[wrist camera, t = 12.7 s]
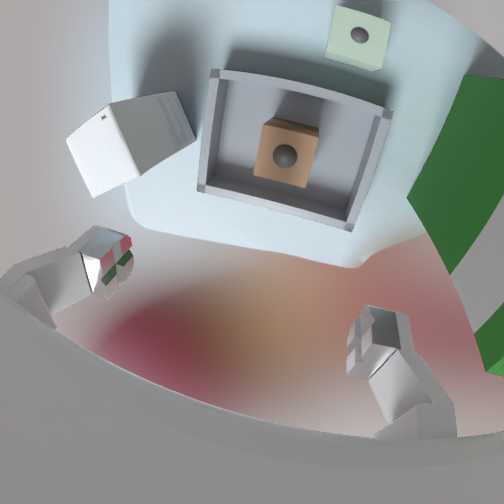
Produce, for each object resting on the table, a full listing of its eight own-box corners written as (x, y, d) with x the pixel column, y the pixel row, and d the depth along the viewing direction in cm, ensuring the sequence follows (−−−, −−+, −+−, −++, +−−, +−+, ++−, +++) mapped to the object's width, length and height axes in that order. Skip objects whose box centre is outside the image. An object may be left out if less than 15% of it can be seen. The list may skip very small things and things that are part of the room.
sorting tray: (384, 108, 24) (393, 111, 21) (349, 216, 33) (351, 232, 29) (224, 69, 26) (211, 68, 23) (209, 179, 34) (196, 191, 31)
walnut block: (318, 128, 27) (318, 138, 22) (308, 169, 30) (305, 188, 25) (273, 116, 27) (262, 124, 23) (265, 158, 30) (253, 175, 25)
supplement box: (132, 113, 31) (62, 137, 21) (177, 89, 28) (108, 101, 18) (152, 161, 34) (90, 200, 24) (198, 142, 32) (140, 176, 22)
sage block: (378, 33, 20) (391, 22, 15) (369, 71, 23) (382, 68, 18) (332, 19, 20) (335, 4, 15) (324, 58, 23) (326, 51, 18)
